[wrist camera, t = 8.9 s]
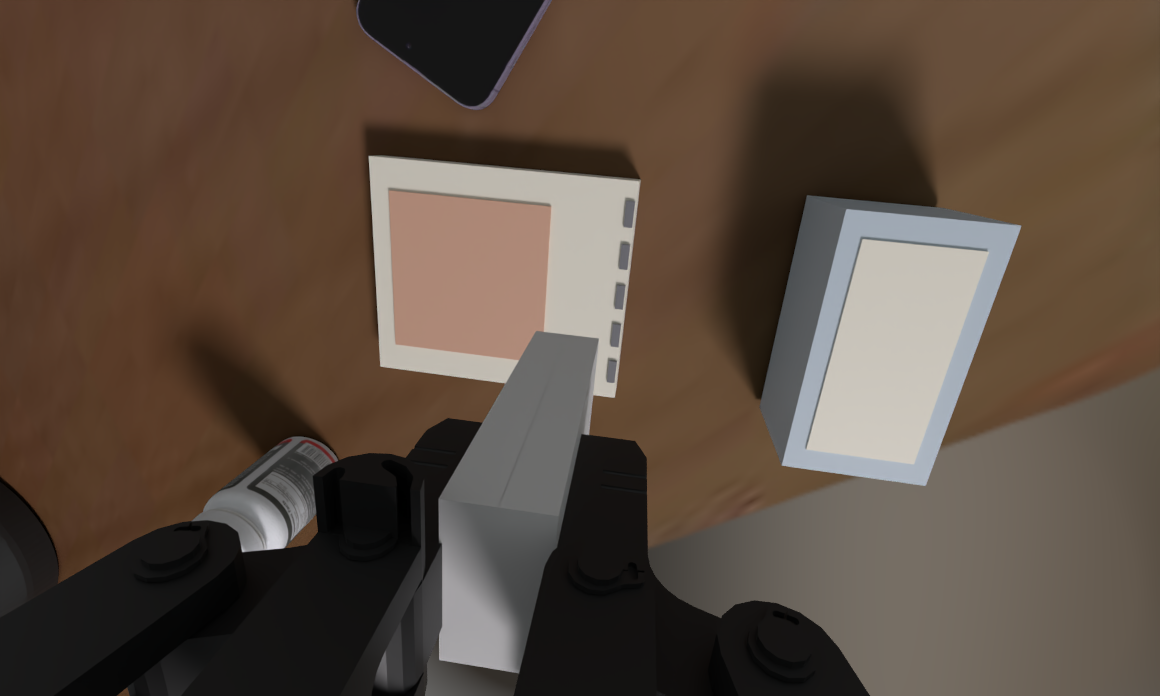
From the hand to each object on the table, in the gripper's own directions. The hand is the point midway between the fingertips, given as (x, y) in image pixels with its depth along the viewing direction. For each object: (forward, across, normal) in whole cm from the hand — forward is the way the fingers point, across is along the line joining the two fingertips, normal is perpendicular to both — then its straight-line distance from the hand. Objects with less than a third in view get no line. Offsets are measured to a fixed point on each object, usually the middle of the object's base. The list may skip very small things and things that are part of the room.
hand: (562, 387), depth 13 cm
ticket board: (+16, -5, -1) cm, 17 cm away
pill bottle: (+17, -18, -16) cm, 29 cm away
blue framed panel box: (+15, +12, -1) cm, 19 cm away
